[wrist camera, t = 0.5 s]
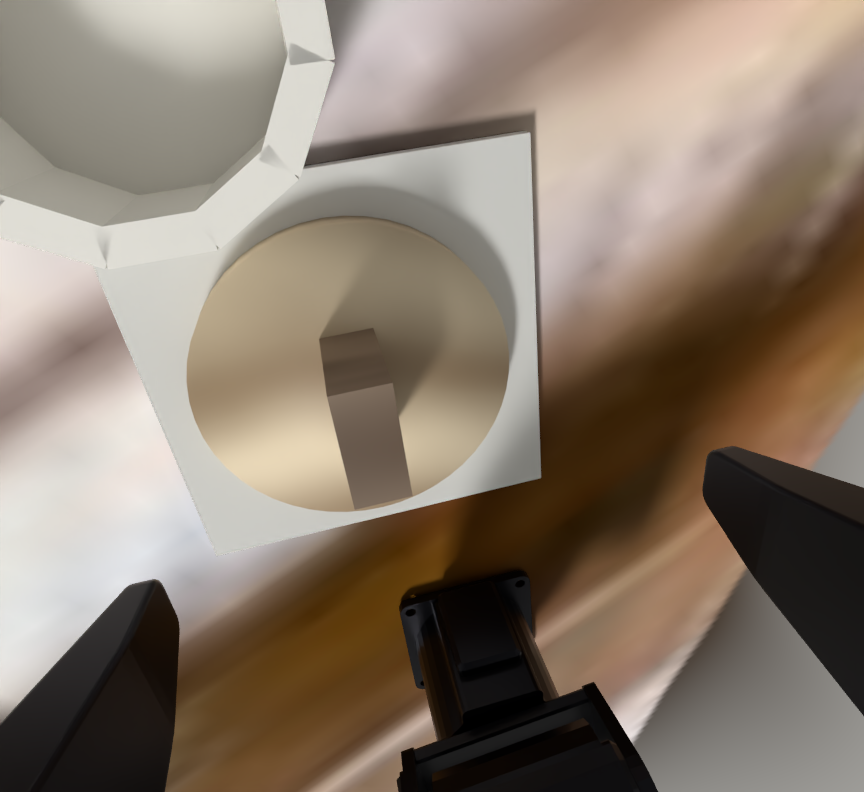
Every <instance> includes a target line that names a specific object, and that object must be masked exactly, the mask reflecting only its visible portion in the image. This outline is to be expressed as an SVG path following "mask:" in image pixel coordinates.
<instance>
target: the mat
mask: <svg viewBox="0 0 864 792" xmlns="http://www.w3.org/2000/svg"><path fill="white" fill-rule="evenodd" d="M298 178H299V180H298V181H297V182H296V183H295V184H293V185H292V186H291V187H290V188H289V189H288V190H287V191H285V192H284V193H283V194H282V195H281V196H280V197H279V198H278V199H276V200H275V201H274V202H273V203H272V204H271V205H270V206H269V207H267V208H266V209H265V210H264V211H263V212H262V213H261V214H259V215H258V216H257V217H256V218H255V219H254V220H253V221H252V222H250V223H249V224H248V225H247V226H246V227H245V228H244V229H243V230H241V231H240V232H239V233H238V234H237V235H236V236H235V237H234V238H232V239H231V240H230V241H229V242H228V243H227V244H226V245H224V246H223V247H222V248H221V249H220V248H218V250H217V251H211V252H206V253H200V254H194V255H189V256H183V257H177V258H172V259H166V260H160V261H154V262H149V263H143V264H137V265H132V266H126V267H120V268H115V269H108V267H107V268H106V269H102V268H99V267H96V266H93V267H94V270H95V272H96V274H97V277H98V279H99V281H100V284H101V286H102V288H103V291H104V293H105V295H106V298H107V300H108V303H109V305H110V307H111V310H112V312H113V314H114V317H115V319H116V321H117V324H118V326H119V328H120V331H121V333H122V335H123V338H124V340H125V342H126V345H127V347H128V350H129V352H130V354H131V357H132V359H133V361H134V364H135V366H136V368H137V371H138V373H139V375H140V378H141V380H142V382H143V385H144V387H145V389H146V392H147V394H148V396H149V399H150V401H151V404H152V406H153V408H154V411H155V413H156V415H157V418H158V420H159V422H160V425H161V427H162V429H163V432H164V434H165V436H166V439H167V441H168V443H169V446H170V448H171V450H172V453H173V455H174V458H175V460H176V462H177V465H178V467H179V469H180V472H181V474H182V476H183V479H184V481H185V483H186V486H187V488H188V490H189V493H190V495H191V497H192V500H193V502H194V504H195V507H196V509H197V512H198V514H199V516H200V519H201V521H202V523H203V526H204V528H205V530H206V533H207V535H208V537H209V540H210V542H211V544H212V547H213V549H214V551H215V554H216V556H220V555H224V554H229V553H233V552H237V551H241V550H245V549H249V548H253V547H258V546H262V545H266V544H270V543H274V542H278V541H282V540H287V539H291V538H295V537H299V536H303V535H307V534H311V533H316V532H320V531H324V530H328V529H332V528H336V527H340V526H344V525H349V524H353V523H357V522H361V521H365V520H369V519H373V518H378V517H382V516H386V515H390V514H394V513H398V512H402V511H407V510H411V509H415V508H419V507H423V506H427V505H431V504H436V503H440V502H444V501H448V500H452V499H456V498H460V497H465V496H469V495H473V494H477V493H481V492H485V491H489V490H494V489H498V488H502V487H506V486H510V485H514V484H518V483H523V482H527V481H531V480H535V479H539V478H541V458H540V426H539V394H538V361H537V329H536V297H535V265H534V233H533V201H532V169H531V137H530V132H526V131H520V132H513V133H507V134H501V135H495V136H489V137H482V138H476V139H470V140H464V141H457V142H451V143H445V144H439V145H433V146H426V147H420V148H414V149H408V150H401V151H395V152H389V153H383V154H377V155H370V156H364V157H358V158H352V159H346V160H339V161H333V162H327V163H321V164H314V165H308V166H304V167H303V170H302V174H301V177H299V176H298ZM336 216H368V217H374V218H380V219H387V220H391V221H394V222H397V223H401V224H404V225H407V226H410V227H412V228H414V229H417V230H419V231H421V232H423V233H425V234H427V235H429V236H431V237H432V238H434V239H436V240H437V241H439V242H440V243H442V244H443V245H445V246H446V247H447V248H449V249H450V250H451V251H452V252H453V253H454V254H456V255H457V256H458V257H459V258H460V259H461V260H462V261H463V262H464V263H465V264H466V265H467V266H468V267H469V268H470V269H471V270H472V272H473V273H474V274H475V275H476V276H477V277H478V278H479V280H480V281H481V282H482V283H483V284H484V286H485V287H486V289H487V291H488V292H489V294H490V295H491V297H492V298H493V300H494V302H495V304H496V306H497V309H498V311H499V313H500V315H501V317H502V321H503V324H504V328H505V331H506V335H507V342H508V349H509V374H508V381H507V388H506V392H505V395H504V399H503V402H502V406H501V408H500V411H499V413H498V415H497V418H496V420H495V422H494V424H493V426H492V427H491V429H490V431H489V432H488V434H487V436H486V438H485V439H484V440H483V442H482V443H481V444H480V445H479V447H478V448H477V449H476V451H475V452H474V453H473V454H472V455H471V456H470V457H469V458H468V459H467V460H466V461H465V463H464V464H463V465H461V466H460V467H459V468H458V469H457V470H456V471H454V472H453V473H452V474H451V475H450V476H448V477H447V478H445V479H444V480H442V481H441V482H439V483H438V484H436V485H435V486H433V487H432V488H430V489H428V490H426V491H424V492H422V493H420V494H418V495H416V496H414V497H411V498H409V499H406V500H404V501H401V502H398V503H395V504H392V505H388V506H385V507H380V508H375V509H370V510H363V511H352V512H327V511H319V510H311V509H306V508H302V507H297V506H293V505H290V504H287V503H284V502H281V501H278V500H276V499H273V498H271V497H269V496H267V495H265V494H263V493H261V492H259V491H257V490H255V489H254V488H252V487H251V486H249V485H247V484H246V483H244V482H243V481H241V480H240V479H239V478H238V477H237V476H235V475H234V474H233V473H232V472H231V471H230V470H228V469H227V468H226V467H225V466H224V465H223V463H222V462H221V461H220V460H219V459H218V458H217V457H216V456H215V455H214V453H213V452H212V450H211V449H210V447H209V446H208V444H207V443H206V441H205V440H204V438H203V437H202V434H201V432H200V430H199V428H198V426H197V424H196V422H195V419H194V416H193V413H192V409H191V406H190V403H189V397H188V390H187V382H186V381H187V358H188V353H189V347H190V341H191V339H192V336H193V333H194V330H195V327H196V324H197V321H198V318H199V315H200V312H201V309H202V307H203V305H204V303H205V301H206V299H207V297H208V296H209V294H210V292H211V290H212V288H213V287H214V286H215V284H216V283H217V282H218V280H219V279H220V277H221V276H222V275H223V273H224V272H225V271H226V270H227V269H228V268H229V267H230V266H231V265H232V264H233V263H234V262H235V261H236V260H237V259H238V258H239V257H240V256H241V255H243V254H244V253H245V252H246V251H248V250H249V249H250V248H252V247H253V246H254V245H256V244H257V243H259V242H260V241H262V240H264V239H266V238H267V237H269V236H271V235H273V234H275V233H276V232H278V231H281V230H284V229H286V228H289V227H291V226H294V225H296V224H299V223H303V222H307V221H311V220H315V219H319V218H326V217H336Z"/></svg>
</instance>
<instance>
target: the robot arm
mask: <svg viewBox="0 0 864 792" xmlns="http://www.w3.org/2000/svg"><path fill="white" fill-rule="evenodd" d="M703 497H704V500H705V502H706V504H707V506H708V507H709V509H710V510H711V512H712V514H713V515H714V517H715V518H716V520H717V521H718V523H719V524H720V526H721V528H722V529H723V531H724V532H725V534H726V535H727V537H728V538H729V540H730V542H731V543H732V545H733V546H734V548H735V549H736V551H737V552H738V554H739V555H740V557H741V559H742V560H743V562H744V563H745V565H746V566H747V568H748V569H749V571H750V572H751V573H752V575H753V576H754V578H755V579H756V581H757V582H758V583H759V584H760V586H761V587H762V589H763V590H764V591H765V592H766V594H767V595H768V596H769V597H770V599H771V600H772V601H773V602H774V604H775V605H776V606H777V607H778V609H779V610H780V611H781V613H782V614H783V615H784V616H785V618H786V619H787V620H788V621H789V623H790V624H791V625H792V626H793V628H794V629H795V630H796V631H797V633H798V634H799V635H800V636H801V638H802V639H803V640H804V641H805V643H806V644H807V645H808V646H809V648H810V649H811V650H812V651H813V653H814V654H815V655H816V656H817V658H818V659H819V660H820V662H821V663H822V664H823V665H824V667H825V668H826V669H827V670H828V672H829V673H830V674H831V675H832V677H833V678H834V679H835V680H836V682H837V683H838V684H839V685H840V687H841V688H842V689H843V690H844V691H845V693H846V694H847V695H848V697H849V698H850V699H851V701H852V702H853V703H854V704H855V706H856V707H857V708H858V709H859V711H860V712H861V713H862V714H863V716H864V488H862V487H859V486H856V485H853V484H850V483H847V482H844V481H841V480H838V479H834V478H831V477H828V476H825V475H822V474H819V473H816V472H813V471H810V470H807V469H804V468H801V467H798V466H794V465H791V464H788V463H785V462H782V461H779V460H776V459H773V458H770V457H767V456H764V455H760V454H757V453H754V452H751V451H748V450H745V449H742V448H739V447H735V446H730V447H725V448H721V449H716V450H713V451H711V452H710V453H709V454H708V456H707V459H706V467H705V474H704V481H703ZM519 580H520V581H519ZM409 609H411V610H409ZM399 611H400V615H401V620H402V625H403V629H404V634H405V638H406V643H407V647H408V652H409V656H410V661H411V666H412V670H413V675H414V679H415V684H416V686H417V688H419V689H425V690H426V695H427V699H428V703H429V708H430V712H431V716H432V721H433V725H434V730H435V734H436V738H437V741H436V742H434V743H431V744H428V745H425V746H423V747H420V748H417V749H414V748H410V749H407V750H405V751H402V752H401V757H402V767H403V771H402V772H400V777H399V778H398V779H397V785H398V791H399V792H658V791H657V789H656V787H655V784H654V782H653V780H652V778H651V776H650V774H649V772H648V770H647V768H646V766H645V764H644V763H643V761H642V760H641V758H640V756H639V754H638V752H637V751H636V749H635V747H634V746H633V744H632V743H631V741H630V739H629V738H628V736H627V735H626V733H625V731H624V730H623V728H622V726H621V725H620V723H619V722H618V720H617V718H616V717H615V715H614V714H613V712H612V710H611V709H610V707H609V705H608V704H607V702H606V701H605V699H604V697H603V696H602V694H601V693H600V691H599V689H598V688H597V686H596V684H595V683H594V682H592V683H589V684H587V685H584V686H582V689H580V690H577V691H574V692H571V693H569V694H566V695H563V696H560V697H559V695H558V693H557V690H556V688H555V686H554V683H553V681H552V679H551V677H550V674H549V672H548V670H547V668H546V665H545V663H544V661H543V658H542V656H541V654H540V652H539V649H538V647H537V645H536V642H535V640H534V638H533V636H532V616H531V595H530V580H529V578H528V576H527V574H526V572H524V571H522V570H519V571H514V572H510V573H506V574H502V575H499V576H495V577H491V578H487V579H483V580H479V581H476V582H472V583H468V584H464V585H460V586H456V587H453V588H449V589H445V590H441V591H437V592H433V593H430V594H426V595H422V596H418V597H414V598H411V599H407V600H405V601H403V602H402V603H401V604H400V606H399ZM178 652H179V622H178V618H177V615H176V613H175V610H174V608H173V606H172V604H171V602H170V600H169V598H168V595H167V593H166V591H165V589H164V587H163V585H162V583H161V582H160V581H159V580H156V579H152V580H148V581H143V582H139V583H135V584H132V585H129V586H128V587H127V588H125V589H124V590H123V591H122V593H121V594H120V595H119V596H118V597H117V598H116V599H115V600H114V601H113V602H112V603H111V604H110V606H109V607H108V608H107V609H106V610H105V611H104V612H103V613H102V614H101V615H100V616H99V617H98V618H97V620H96V621H95V622H94V623H93V624H92V625H91V626H90V627H89V628H88V629H87V630H86V631H85V633H84V634H83V635H82V636H81V637H80V638H79V639H78V640H77V641H76V642H75V643H74V644H73V646H72V647H71V648H70V649H69V650H68V651H67V652H66V653H65V654H64V655H63V656H62V657H61V659H60V660H59V661H58V662H57V663H56V664H55V665H54V666H53V667H52V668H51V669H50V670H49V672H48V673H47V674H46V675H45V676H44V677H43V678H42V679H41V680H40V681H39V682H38V683H37V685H36V686H35V687H34V688H33V689H32V690H31V691H30V692H29V693H28V694H27V695H26V696H25V697H24V699H23V700H22V701H21V702H20V703H19V704H18V705H17V706H16V707H15V708H14V709H13V710H12V712H11V713H10V714H9V715H8V716H7V717H6V718H5V719H4V720H3V721H2V722H1V723H0V792H165V787H166V781H167V775H168V769H169V763H170V757H171V750H172V743H173V736H174V727H175V713H176V693H177V672H178Z"/></svg>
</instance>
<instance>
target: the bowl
mask: <svg viewBox="0 0 864 792" xmlns="http://www.w3.org/2000/svg"><path fill="white" fill-rule="evenodd" d="M334 59H335V56H334V50H333V44H332V39H331V33H330V27H329V22H328V16H327V10H326V5H325V0H0V239H4V240H7V241H11V242H14V243H17V244H21V245H24V246H28V247H31V248H34V249H38V250H41V251H45V252H48V253H51V254H55V255H58V256H62V257H65V258H68V259H72V260H75V261H79V262H82V263H85V264H89V265H92V266H96V267H99V268H102V269H106V268H107V267H108V269H115V268H120V267H126V266H132V265H137V264H143V263H149V262H154V261H160V260H166V259H172V258H177V257H183V256H189V255H194V254H200V253H206V252H211V251H217V250H218V248H220V249H221V248H222V247H223V246H224V245H226V244H227V243H228V242H229V241H230V240H231V239H232V238H234V237H235V236H236V235H237V234H238V233H239V232H240V231H241V230H243V229H244V228H245V227H246V226H247V225H248V224H249V223H250V222H252V221H253V220H254V219H255V218H256V217H257V216H258V215H259V214H261V213H262V212H263V211H264V210H265V209H266V208H267V207H269V206H270V205H271V204H272V203H273V202H274V201H275V200H276V199H278V198H279V197H280V196H281V195H282V194H283V193H284V192H285V191H287V190H288V189H289V188H290V187H291V186H292V185H293V184H295V183H296V182H297V181H298V180H299V178H298V176H299V177H301V174H302V170H303V167H304V164H305V160H306V157H307V154H308V151H309V147H310V144H311V141H312V137H313V134H314V131H315V127H316V124H317V121H318V117H319V114H320V111H321V108H322V104H323V101H324V98H325V94H326V91H327V88H328V84H329V81H330V78H331V74H332V71H333V68H334V65H335V63H334V62H331V61H329V60H334Z"/></svg>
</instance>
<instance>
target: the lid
mask: <svg viewBox="0 0 864 792" xmlns="http://www.w3.org/2000/svg"><path fill="white" fill-rule="evenodd" d="M508 374H509V349H508V342H507V335H506V331H505V328H504V324H503V321H502V317H501V315H500V313H499V311H498V309H497V306H496V304H495V302H494V300H493V298H492V297H491V295H490V294H489V292H488V291H487V289H486V287H485V286H484V284H483V283H482V282H481V281H480V280H479V278H478V277H477V276H476V275H475V274H474V273H473V272H472V270H471V269H470V268H469V267H468V266H467V265H466V264H465V263H464V262H463V261H462V260H461V259H460V258H459V257H458V256H457V255H456V254H454V253H453V252H452V251H451V250H450V249H449V248H447V247H446V246H445V245H443V244H442V243H440V242H439V241H437V240H436V239H434V238H432V237H431V236H429V235H427V234H425V233H423V232H421V231H419V230H417V229H414V228H412V227H410V226H407V225H404V224H401V223H397V222H394V221H391V220H387V219H380V218H374V217H368V216H336V217H326V218H319V219H315V220H311V221H307V222H303V223H299V224H296V225H294V226H291V227H289V228H286V229H284V230H281V231H278V232H276V233H275V234H273V235H271V236H269V237H267V238H266V239H264V240H262V241H260V242H259V243H257V244H256V245H254V246H253V247H252V248H250V249H249V250H248V251H246V252H245V253H244V254H243V255H241V256H240V257H239V258H238V259H237V260H236V261H235V262H234V263H233V264H232V265H231V266H230V267H229V268H228V269H227V270H226V271H225V272H224V273H223V275H222V276H221V277H220V279H219V280H218V282H217V283H216V284H215V286H214V287H213V288H212V290H211V292H210V294H209V296H208V297H207V299H206V301H205V303H204V305H203V307H202V309H201V312H200V315H199V318H198V321H197V324H196V327H195V330H194V333H193V336H192V339H191V341H190V347H189V353H188V358H187V381H186V382H187V390H188V397H189V403H190V406H191V409H192V413H193V416H194V419H195V422H196V424H197V426H198V428H199V430H200V432H201V434H202V437H203V438H204V440H205V441H206V443H207V444H208V446H209V447H210V449H211V450H212V452H213V453H214V455H215V456H216V457H217V458H218V459H219V460H220V461H221V462H222V463H223V465H224V466H225V467H226V468H227V469H228V470H230V471H231V472H232V473H233V474H234V475H235V476H237V477H238V478H239V479H240V480H241V481H243V482H244V483H246V484H247V485H249V486H251V487H252V488H254V489H255V490H257V491H259V492H261V493H263V494H265V495H267V496H269V497H271V498H273V499H276V500H278V501H281V502H284V503H287V504H290V505H293V506H297V507H302V508H306V509H311V510H319V511H327V512H352V511H363V510H370V509H375V508H380V507H385V506H388V505H392V504H395V503H398V502H401V501H404V500H406V499H409V498H411V497H414V496H416V495H418V494H420V493H422V492H424V491H426V490H428V489H430V488H432V487H433V486H435V485H436V484H438V483H439V482H441V481H442V480H444V479H445V478H447V477H448V476H450V475H451V474H452V473H453V472H454V471H456V470H457V469H458V468H459V467H460V466H461V465H463V464H464V463H465V461H466V460H467V459H468V458H469V457H470V456H471V455H472V454H473V453H474V452H475V451H476V449H477V448H478V447H479V445H480V444H481V443H482V442H483V440H484V439H485V438H486V436H487V434H488V432H489V431H490V429H491V427H492V426H493V424H494V422H495V420H496V418H497V415H498V413H499V411H500V408H501V406H502V402H503V399H504V395H505V392H506V388H507V381H508Z"/></svg>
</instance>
